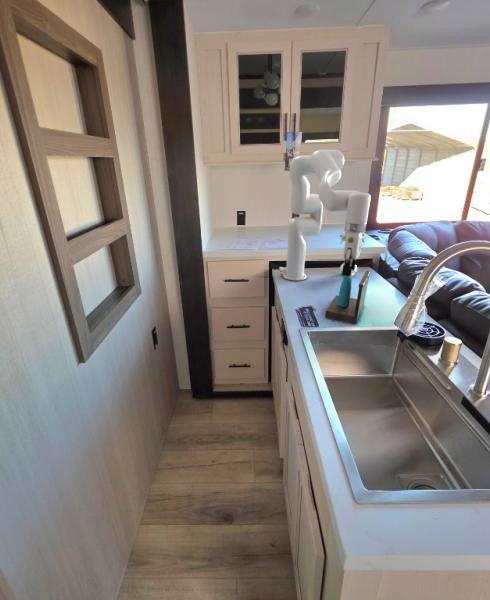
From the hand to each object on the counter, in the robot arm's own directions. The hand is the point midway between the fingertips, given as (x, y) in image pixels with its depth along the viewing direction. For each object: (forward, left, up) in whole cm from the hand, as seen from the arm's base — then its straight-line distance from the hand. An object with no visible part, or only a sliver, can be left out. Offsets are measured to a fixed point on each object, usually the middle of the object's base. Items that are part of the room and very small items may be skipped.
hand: (348, 272), depth 124 cm
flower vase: (-8, +49, -17) cm, 53 cm away
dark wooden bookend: (+1, 0, -17) cm, 17 cm away
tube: (0, 0, -14) cm, 14 cm away
